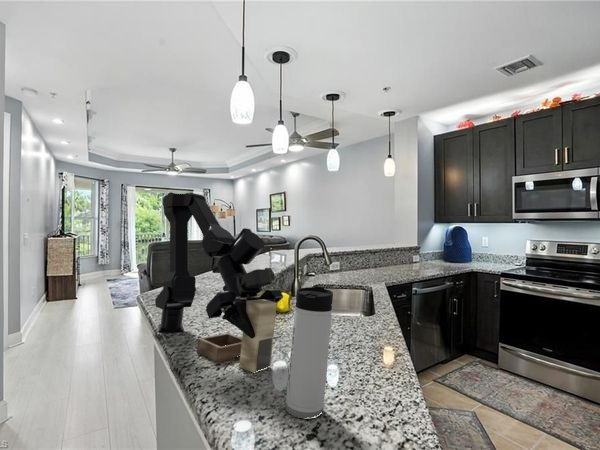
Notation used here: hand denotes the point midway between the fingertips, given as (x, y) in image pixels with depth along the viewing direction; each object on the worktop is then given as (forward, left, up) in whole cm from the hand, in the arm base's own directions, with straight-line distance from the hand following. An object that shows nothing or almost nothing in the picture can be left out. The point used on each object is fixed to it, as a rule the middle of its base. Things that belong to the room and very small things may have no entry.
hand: (262, 335), depth 69 cm
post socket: (-11, -6, -7) cm, 14 cm away
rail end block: (-1, -1, -7) cm, 7 cm away
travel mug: (+18, +2, -7) cm, 19 cm away
